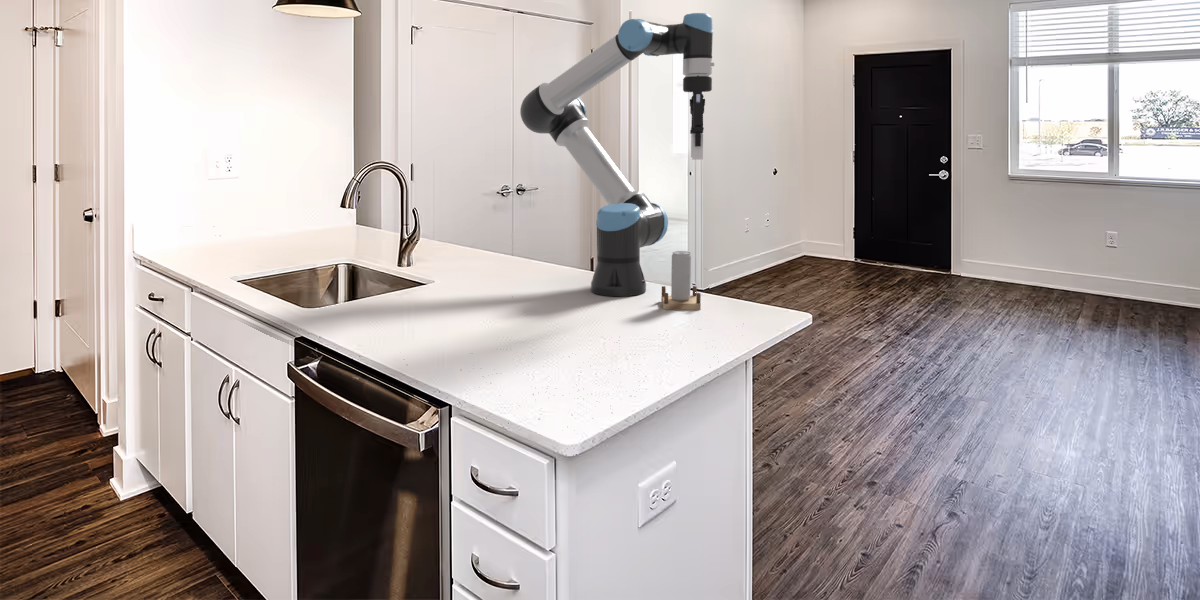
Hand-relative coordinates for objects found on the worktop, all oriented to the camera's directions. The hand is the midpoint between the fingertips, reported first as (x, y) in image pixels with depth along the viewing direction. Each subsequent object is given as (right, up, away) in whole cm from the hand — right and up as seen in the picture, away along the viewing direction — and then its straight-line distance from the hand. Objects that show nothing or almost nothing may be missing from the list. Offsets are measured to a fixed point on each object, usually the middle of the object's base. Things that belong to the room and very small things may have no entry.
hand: (696, 158), depth 205 cm
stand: (-6, -39, -11) cm, 41 cm away
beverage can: (-6, -38, -12) cm, 40 cm away
